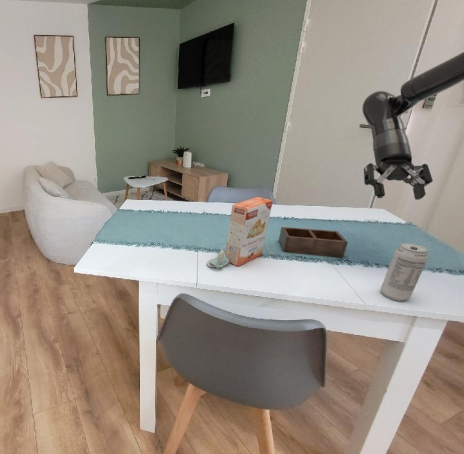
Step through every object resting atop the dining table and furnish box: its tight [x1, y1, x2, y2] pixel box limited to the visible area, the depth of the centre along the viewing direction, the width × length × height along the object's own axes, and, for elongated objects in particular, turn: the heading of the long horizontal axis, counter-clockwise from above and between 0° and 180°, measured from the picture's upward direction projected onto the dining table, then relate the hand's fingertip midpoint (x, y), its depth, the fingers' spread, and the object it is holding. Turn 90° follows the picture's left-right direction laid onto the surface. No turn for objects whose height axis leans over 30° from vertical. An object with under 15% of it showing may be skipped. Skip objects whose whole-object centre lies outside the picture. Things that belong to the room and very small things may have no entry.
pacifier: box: [206, 249, 229, 269], centre depth 98 cm, size 7×6×6 cm
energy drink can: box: [380, 242, 429, 302], centre depth 77 cm, size 6×6×15 cm
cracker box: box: [224, 196, 274, 267], centre depth 99 cm, size 14×6×21 cm, turn 122°
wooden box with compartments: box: [278, 226, 349, 259], centre depth 105 cm, size 18×10×6 cm, turn 71°
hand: (400, 197), depth 81 cm, fingers open, 8 cm apart
